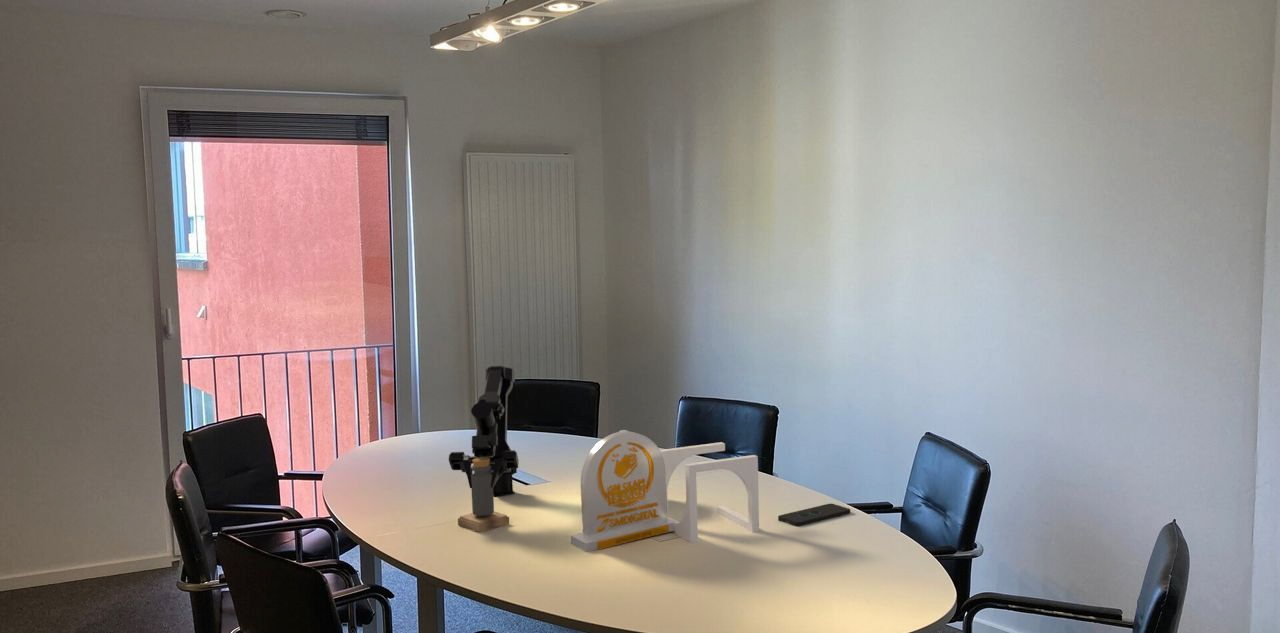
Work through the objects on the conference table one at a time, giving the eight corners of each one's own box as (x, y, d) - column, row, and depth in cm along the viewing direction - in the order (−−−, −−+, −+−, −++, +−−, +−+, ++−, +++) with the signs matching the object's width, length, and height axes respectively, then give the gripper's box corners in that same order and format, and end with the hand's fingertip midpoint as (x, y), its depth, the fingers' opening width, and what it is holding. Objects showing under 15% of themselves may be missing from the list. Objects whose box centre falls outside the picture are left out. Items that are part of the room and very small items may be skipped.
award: (587, 552, 248) (582, 443, 246) (570, 543, 256) (565, 437, 253) (680, 530, 263) (676, 427, 260) (662, 522, 270) (658, 422, 268)
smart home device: (776, 515, 271) (830, 502, 282) (776, 521, 271) (830, 508, 282) (797, 522, 264) (851, 508, 275) (797, 528, 264) (851, 515, 275)
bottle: (494, 515, 272) (492, 461, 271) (472, 516, 271) (470, 462, 270) (493, 509, 278) (491, 456, 276) (472, 510, 277) (470, 457, 275)
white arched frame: (658, 522, 272) (656, 450, 270) (723, 512, 280) (721, 442, 278) (690, 542, 254) (688, 465, 252) (759, 531, 262) (757, 456, 260)
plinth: (487, 517, 281) (487, 508, 281) (509, 524, 274) (508, 515, 274) (458, 525, 275) (457, 516, 274) (479, 532, 267) (478, 523, 267)
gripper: (448, 423, 276) (441, 473, 266) (515, 421, 276) (511, 471, 266) (455, 445, 285) (449, 493, 275) (520, 443, 284) (516, 491, 275)
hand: (481, 487), depth 272 cm, fingers closed on bottle, 5 cm apart
